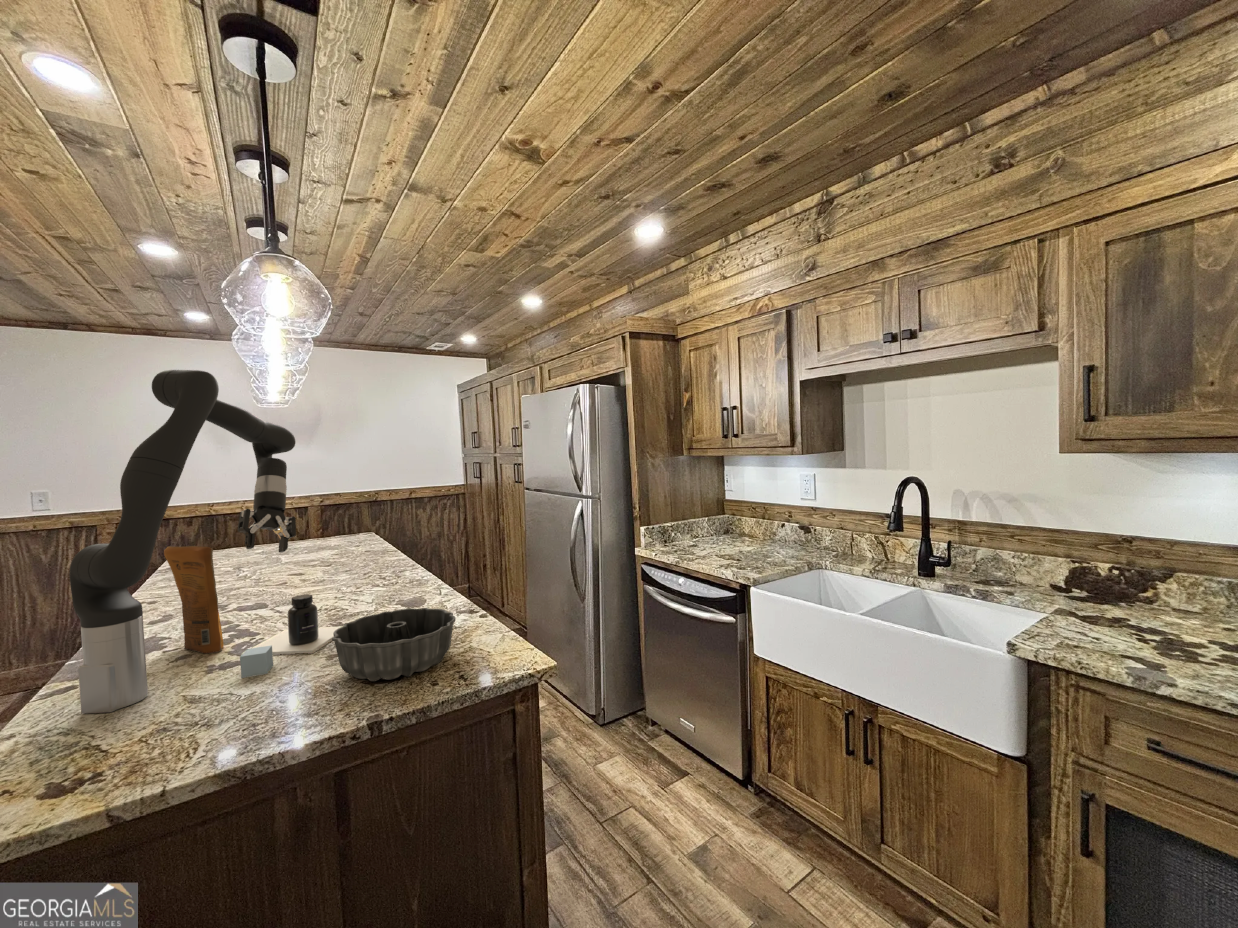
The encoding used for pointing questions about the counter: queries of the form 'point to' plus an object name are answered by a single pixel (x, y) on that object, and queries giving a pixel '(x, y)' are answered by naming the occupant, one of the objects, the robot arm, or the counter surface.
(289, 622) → the supplement bottle
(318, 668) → the counter surface
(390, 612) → the bundt pan
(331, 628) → the mat
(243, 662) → the blue block
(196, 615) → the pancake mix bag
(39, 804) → the counter surface
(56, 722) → the counter surface
